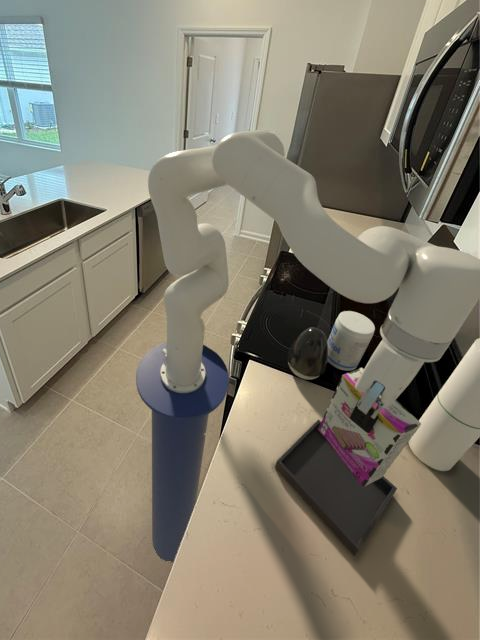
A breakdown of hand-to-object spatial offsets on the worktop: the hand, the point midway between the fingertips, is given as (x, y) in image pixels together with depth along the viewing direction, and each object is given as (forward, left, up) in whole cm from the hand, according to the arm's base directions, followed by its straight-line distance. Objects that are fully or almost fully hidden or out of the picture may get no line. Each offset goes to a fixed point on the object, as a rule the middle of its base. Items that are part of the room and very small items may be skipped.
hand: (369, 413), depth 51 cm
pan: (0, 0, -22) cm, 22 cm away
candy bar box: (0, 0, -12) cm, 12 cm away
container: (+10, +24, -22) cm, 34 cm away
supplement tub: (-16, +32, -22) cm, 42 cm away
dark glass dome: (-20, +19, -22) cm, 36 cm away
